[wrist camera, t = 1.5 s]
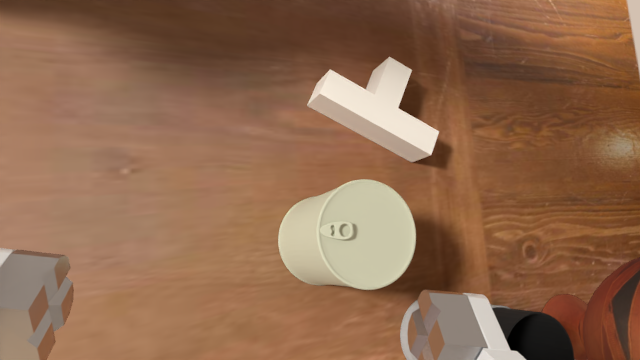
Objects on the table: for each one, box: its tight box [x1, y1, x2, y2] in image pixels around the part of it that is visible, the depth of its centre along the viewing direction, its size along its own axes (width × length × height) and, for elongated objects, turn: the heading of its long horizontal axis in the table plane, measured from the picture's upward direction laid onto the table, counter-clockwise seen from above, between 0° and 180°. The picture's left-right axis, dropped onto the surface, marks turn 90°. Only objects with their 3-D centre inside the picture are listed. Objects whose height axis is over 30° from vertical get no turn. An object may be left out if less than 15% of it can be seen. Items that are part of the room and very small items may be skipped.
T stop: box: [307, 57, 439, 162], centre depth 53 cm, size 8×14×4 cm, turn 68°
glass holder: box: [400, 299, 575, 360], centre depth 46 cm, size 9×14×15 cm, turn 79°
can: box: [278, 179, 416, 290], centre depth 44 cm, size 9×9×12 cm
